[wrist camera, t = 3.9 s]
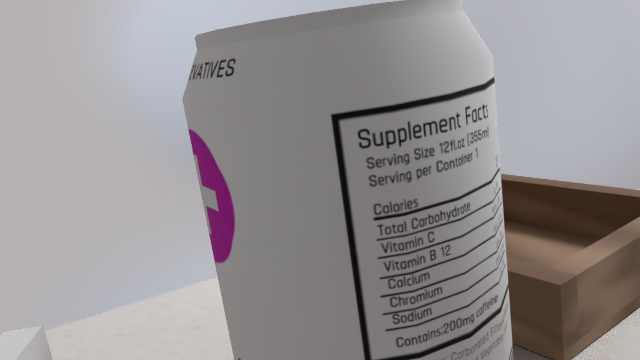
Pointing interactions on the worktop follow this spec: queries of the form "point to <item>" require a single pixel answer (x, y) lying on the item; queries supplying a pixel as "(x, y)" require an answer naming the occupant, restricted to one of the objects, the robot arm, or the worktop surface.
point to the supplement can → (354, 184)
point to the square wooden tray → (569, 261)
